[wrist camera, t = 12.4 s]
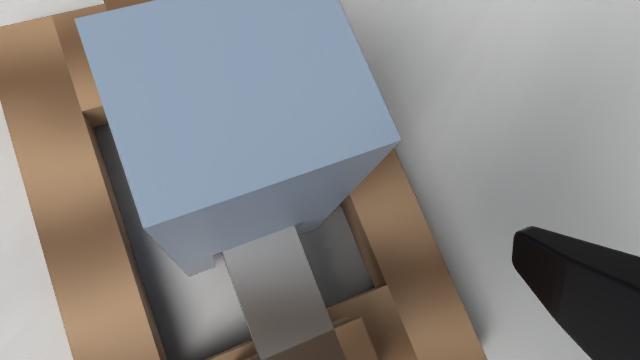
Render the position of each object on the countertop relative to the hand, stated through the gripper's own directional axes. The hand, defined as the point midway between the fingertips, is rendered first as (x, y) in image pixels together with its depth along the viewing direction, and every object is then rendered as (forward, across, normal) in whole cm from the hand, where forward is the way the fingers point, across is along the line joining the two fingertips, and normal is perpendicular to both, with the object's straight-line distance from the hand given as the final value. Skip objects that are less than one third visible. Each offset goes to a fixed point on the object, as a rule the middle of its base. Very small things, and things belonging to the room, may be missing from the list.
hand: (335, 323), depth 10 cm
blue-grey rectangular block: (+13, 0, +4) cm, 13 cm away
